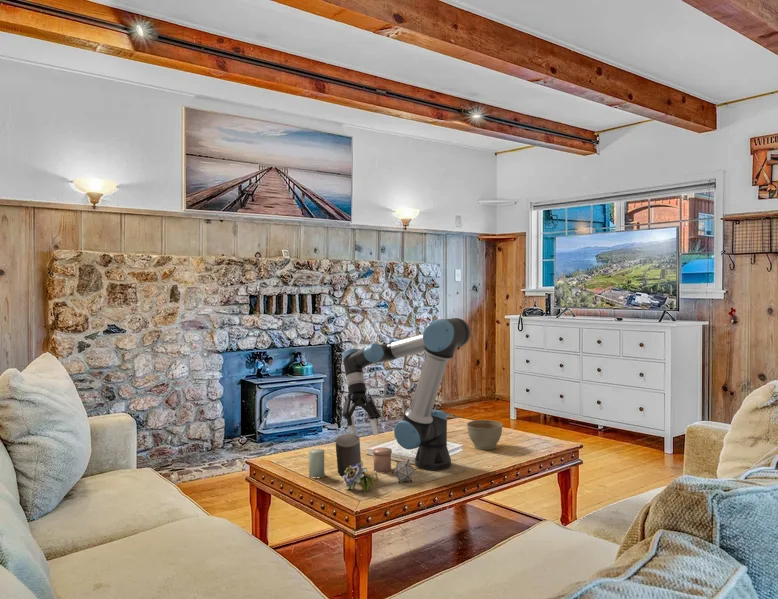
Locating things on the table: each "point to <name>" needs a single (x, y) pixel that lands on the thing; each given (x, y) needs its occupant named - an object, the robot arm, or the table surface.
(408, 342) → the robot arm
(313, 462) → the pale green cylinder
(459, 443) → the table surface
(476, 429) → the planter bowl
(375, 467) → the peach round-topped cylinder
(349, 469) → the passion flower
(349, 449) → the pillar candle
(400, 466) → the game die
